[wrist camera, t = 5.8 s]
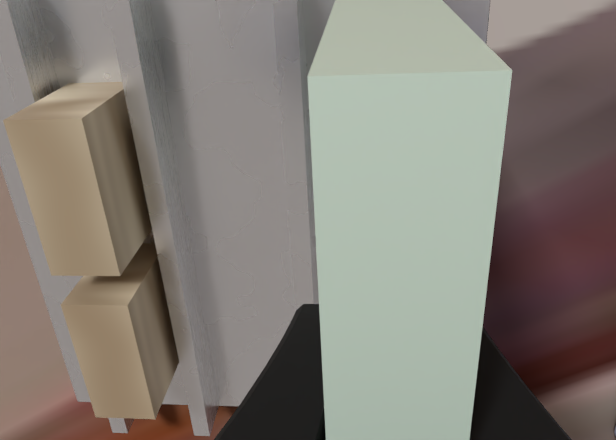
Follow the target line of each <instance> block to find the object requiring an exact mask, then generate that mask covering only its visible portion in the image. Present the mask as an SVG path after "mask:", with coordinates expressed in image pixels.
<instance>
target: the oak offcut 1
mask: <svg viewBox="0 0 616 440" xmlns="http://www.w3.org/2000/svg"><path fill="white" fill-rule="evenodd" d="M3 122H4V125H5V129H6V132H7V135H8V138H9V141H10V145H11V148H12V151H13V154H14V157H15V161H16V164H17V167H18V170H19V173H20V177H21V180H22V183H23V186H24V189H25V193H26V196H27V199H28V202H29V205H30V209H31V212H32V215H33V218H34V221H35V225H36V228H37V231H38V234H39V237H40V241H41V244H42V247H43V250H44V253H45V257H46V260H47V263H48V266H49V269H50V272H51V276H121V274H122V273H123V271H124V270H125V268H126V267H127V265H128V264H129V262H130V261H131V260H132V258H133V257H134V255H135V254H136V252H137V251H138V249H139V248H140V246H141V245H142V243H143V242H144V240H145V239H146V238H147V236H148V235H149V233H150V232H151V230H152V226H151V221H150V216H149V211H148V206H147V201H146V197H145V192H144V187H143V182H142V177H141V172H140V167H139V162H138V157H137V153H136V148H135V143H134V138H133V133H132V128H131V123H130V118H129V113H128V109H127V104H126V99H125V94H124V89H123V84H122V82H96V83H69V84H67V85H65V86H63V87H62V88H60V89H58V90H56V91H54V92H53V93H51V94H49V95H47V96H45V97H44V98H42V99H40V100H38V101H37V102H35V103H33V104H31V105H29V106H28V107H26V108H24V109H22V110H20V111H19V112H17V113H15V114H13V115H12V116H10V117H8V118H6V119H4V120H3Z"/></svg>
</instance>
